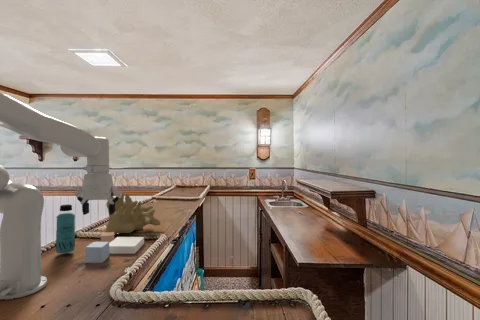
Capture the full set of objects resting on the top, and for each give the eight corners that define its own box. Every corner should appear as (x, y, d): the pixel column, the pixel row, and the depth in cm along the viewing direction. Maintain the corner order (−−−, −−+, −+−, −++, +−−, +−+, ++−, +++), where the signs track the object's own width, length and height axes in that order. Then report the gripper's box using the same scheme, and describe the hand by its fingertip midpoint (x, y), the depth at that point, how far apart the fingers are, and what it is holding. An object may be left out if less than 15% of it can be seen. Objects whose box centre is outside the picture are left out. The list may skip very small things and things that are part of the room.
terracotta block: (113, 246, 118) (113, 235, 118) (100, 247, 116) (100, 236, 116) (114, 242, 122) (114, 231, 122) (102, 243, 121) (102, 232, 120)
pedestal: (134, 253, 110) (134, 246, 110) (104, 253, 109) (105, 246, 109) (144, 243, 122) (144, 237, 122) (117, 243, 121) (117, 236, 121)
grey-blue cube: (102, 263, 100) (102, 247, 100) (85, 263, 100) (85, 247, 100) (109, 256, 106) (109, 241, 106) (93, 256, 106) (93, 241, 106)
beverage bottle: (52, 255, 106) (52, 205, 106) (69, 250, 112) (69, 202, 111) (61, 258, 103) (61, 207, 103) (78, 253, 109) (78, 204, 108)
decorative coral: (81, 211, 131) (122, 177, 145) (104, 235, 145) (139, 203, 159) (111, 233, 118) (153, 193, 131) (133, 257, 132) (168, 219, 146)
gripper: (69, 170, 98) (70, 216, 99) (117, 170, 99) (117, 216, 100) (80, 168, 106) (81, 211, 107) (125, 168, 106) (125, 211, 107)
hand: (99, 213), depth 103 cm, fingers open, 9 cm apart
